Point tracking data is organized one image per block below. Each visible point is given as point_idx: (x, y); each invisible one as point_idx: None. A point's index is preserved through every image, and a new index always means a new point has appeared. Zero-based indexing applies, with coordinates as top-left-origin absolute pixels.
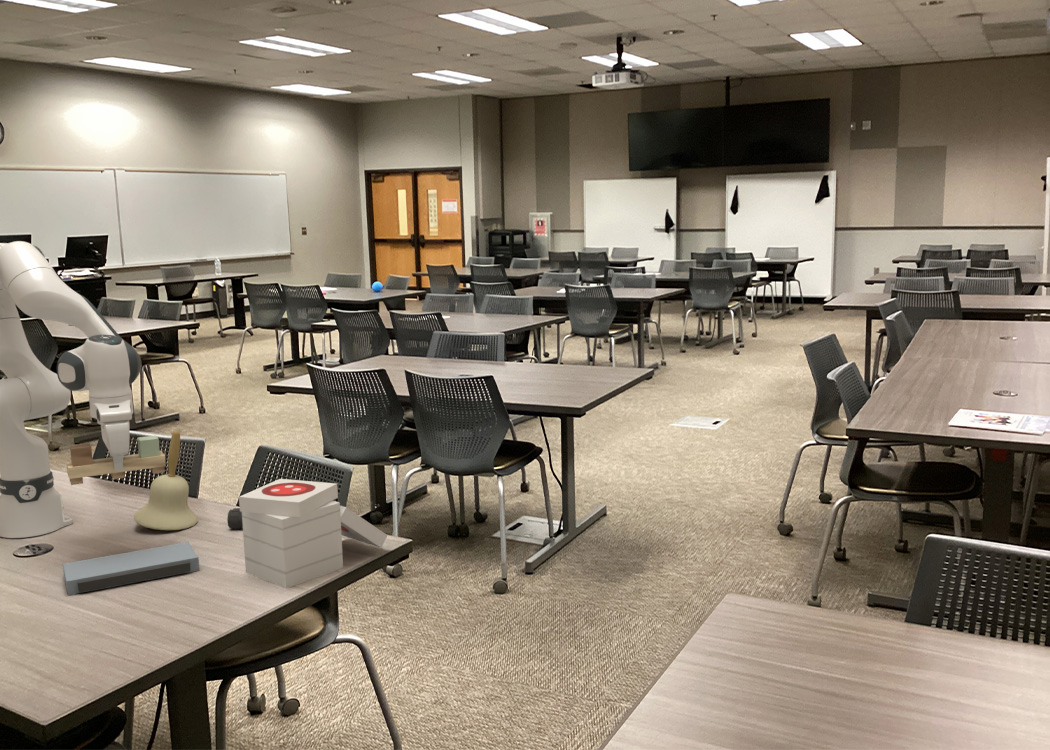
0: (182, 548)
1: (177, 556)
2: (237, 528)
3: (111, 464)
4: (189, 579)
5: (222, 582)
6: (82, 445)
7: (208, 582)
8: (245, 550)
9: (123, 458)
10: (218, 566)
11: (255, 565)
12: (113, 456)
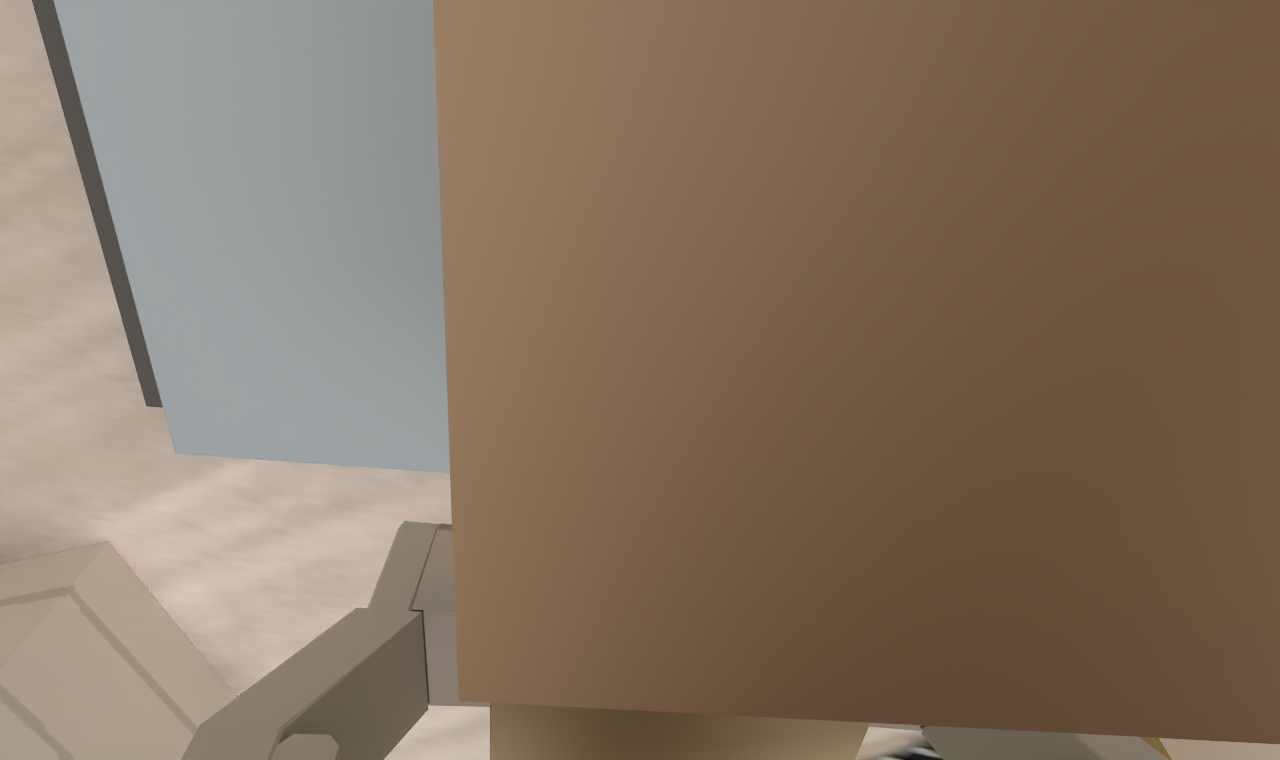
0: (360, 428)
1: (233, 381)
2: None
3: None
4: (94, 352)
5: (2, 447)
6: (1136, 455)
7: (21, 405)
8: (35, 620)
9: (666, 750)
10: (231, 483)
11: (6, 591)
12: (188, 753)
